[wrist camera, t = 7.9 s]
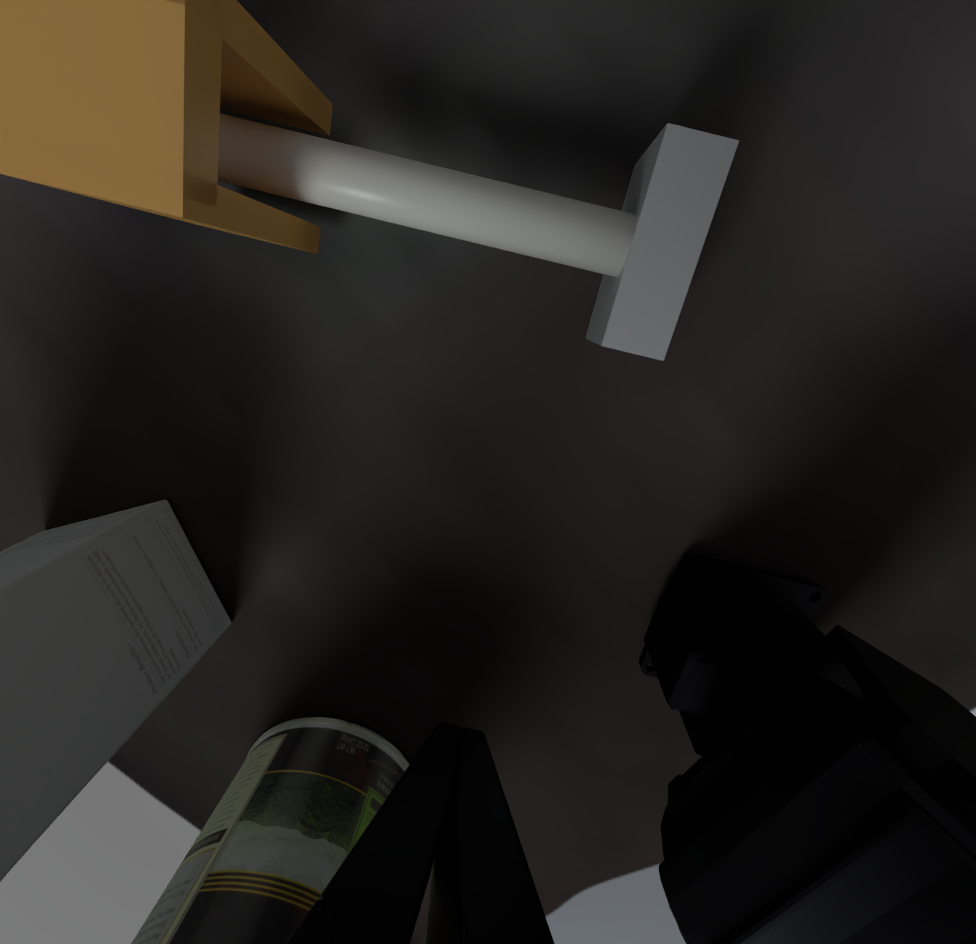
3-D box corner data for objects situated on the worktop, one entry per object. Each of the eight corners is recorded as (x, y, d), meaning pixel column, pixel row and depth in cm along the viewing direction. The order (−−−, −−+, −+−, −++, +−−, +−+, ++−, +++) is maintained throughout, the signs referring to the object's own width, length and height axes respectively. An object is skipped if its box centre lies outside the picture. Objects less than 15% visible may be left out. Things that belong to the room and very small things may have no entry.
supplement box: (39, 528, 23) (-470, 760, 11) (172, 495, 22) (-236, 712, 10) (113, 651, 25) (-248, 954, 13) (237, 626, 24) (-35, 932, 12)
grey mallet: (690, 178, 17) (776, 112, 11) (634, 350, 19) (684, 368, 13) (71, 26, 16) (-164, -121, 11) (82, 217, 18) (-113, 177, 13)
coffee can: (378, 696, 25) (219, 1130, 12) (445, 831, 28) (378, 1300, 15) (212, 734, 27) (-92, 1152, 14) (291, 858, 30) (106, 1301, 17)
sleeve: (332, 104, 16) (185, -56, 9) (318, 253, 17) (182, 217, 10) (213, 75, 16) (-29, -109, 9) (209, 227, 17) (0, 173, 10)
